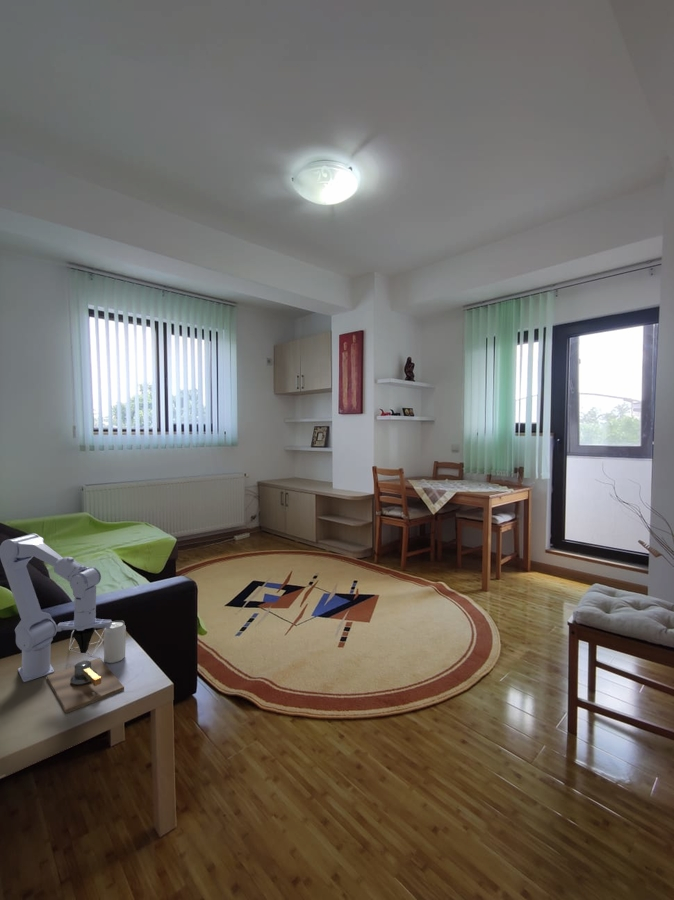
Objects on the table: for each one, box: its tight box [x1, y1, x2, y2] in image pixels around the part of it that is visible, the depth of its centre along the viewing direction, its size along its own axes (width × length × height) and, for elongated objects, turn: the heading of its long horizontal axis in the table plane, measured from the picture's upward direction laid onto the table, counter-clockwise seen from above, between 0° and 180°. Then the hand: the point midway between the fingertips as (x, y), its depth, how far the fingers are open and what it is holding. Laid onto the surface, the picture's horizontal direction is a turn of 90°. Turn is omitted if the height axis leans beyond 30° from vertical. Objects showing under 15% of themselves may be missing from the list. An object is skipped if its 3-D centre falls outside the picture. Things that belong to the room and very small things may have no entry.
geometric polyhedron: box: [68, 628, 105, 657], centre depth 146 cm, size 12×11×9 cm
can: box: [103, 620, 127, 664], centre depth 140 cm, size 6×6×12 cm
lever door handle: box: [70, 660, 101, 686], centre depth 125 cm, size 13×7×4 cm, turn 52°
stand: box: [46, 657, 125, 714], centre depth 126 cm, size 22×15×1 cm
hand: (84, 651), depth 127 cm, fingers closed
